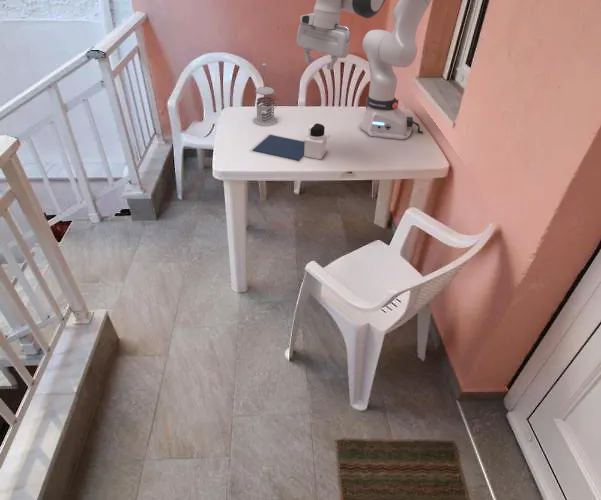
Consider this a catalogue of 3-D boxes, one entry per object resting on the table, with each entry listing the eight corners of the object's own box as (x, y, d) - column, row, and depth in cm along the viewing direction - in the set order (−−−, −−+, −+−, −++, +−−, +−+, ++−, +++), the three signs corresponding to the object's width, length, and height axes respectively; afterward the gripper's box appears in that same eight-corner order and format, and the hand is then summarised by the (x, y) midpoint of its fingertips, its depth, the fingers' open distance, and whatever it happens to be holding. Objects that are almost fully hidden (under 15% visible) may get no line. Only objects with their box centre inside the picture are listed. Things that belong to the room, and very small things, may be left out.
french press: (250, 119, 190) (247, 62, 174) (271, 114, 195) (270, 58, 179) (262, 127, 184) (260, 68, 168) (283, 121, 189) (283, 63, 174)
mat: (313, 144, 172) (313, 143, 172) (298, 160, 160) (298, 159, 160) (270, 135, 177) (270, 134, 177) (252, 150, 166) (252, 149, 166)
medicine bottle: (326, 152, 167) (328, 123, 159) (321, 159, 161) (323, 130, 154) (309, 149, 168) (310, 120, 161) (303, 156, 163) (304, 127, 156)
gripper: (356, 27, 133) (348, 72, 141) (308, 15, 143) (302, 58, 151) (346, 27, 129) (337, 74, 137) (296, 15, 139) (291, 59, 147)
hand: (319, 66), depth 144 cm, fingers open, 8 cm apart
